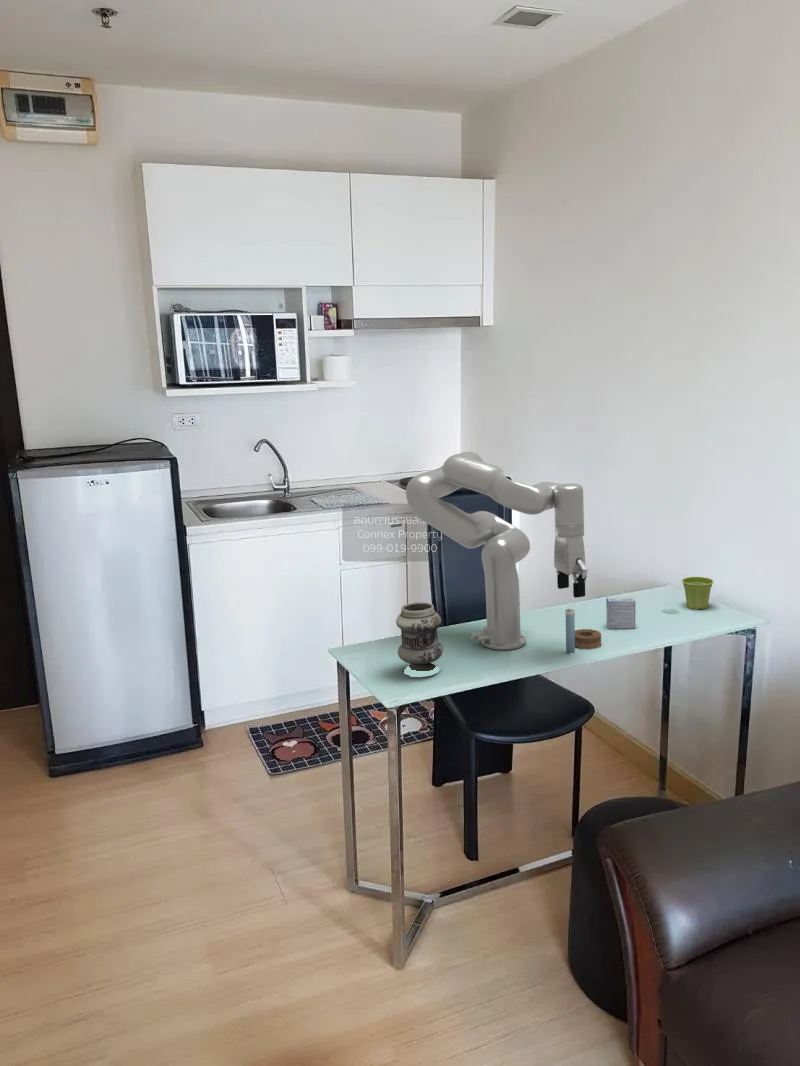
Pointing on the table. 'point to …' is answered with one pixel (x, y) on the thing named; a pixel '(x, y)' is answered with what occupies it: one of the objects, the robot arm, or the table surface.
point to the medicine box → (621, 612)
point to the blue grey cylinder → (570, 630)
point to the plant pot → (697, 591)
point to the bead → (587, 638)
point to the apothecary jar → (419, 635)
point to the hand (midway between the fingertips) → (571, 592)
